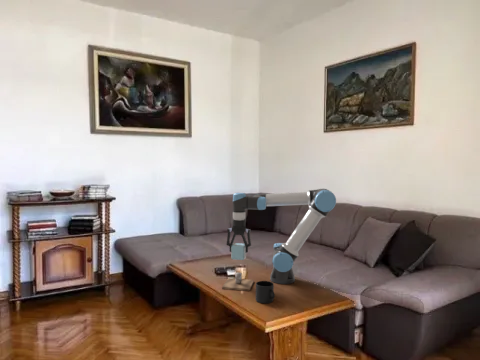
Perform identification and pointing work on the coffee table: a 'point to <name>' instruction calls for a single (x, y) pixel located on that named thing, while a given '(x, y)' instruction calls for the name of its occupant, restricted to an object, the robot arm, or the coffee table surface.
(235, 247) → the light blue block
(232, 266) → the coffee table surface
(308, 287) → the coffee table surface
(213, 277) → the coffee table surface
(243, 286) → the post base
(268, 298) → the mug
